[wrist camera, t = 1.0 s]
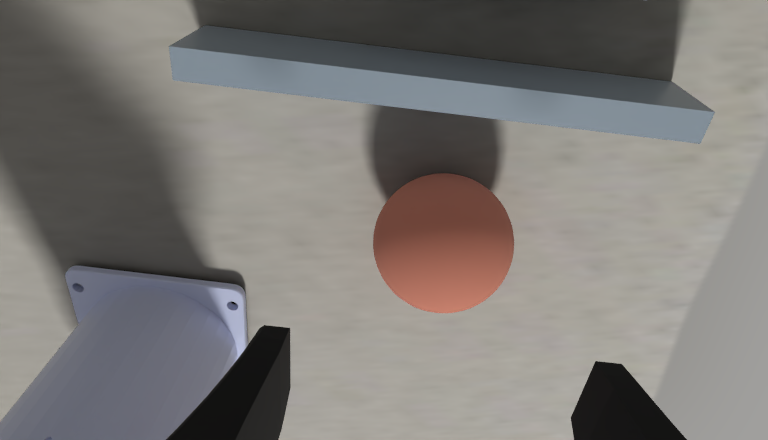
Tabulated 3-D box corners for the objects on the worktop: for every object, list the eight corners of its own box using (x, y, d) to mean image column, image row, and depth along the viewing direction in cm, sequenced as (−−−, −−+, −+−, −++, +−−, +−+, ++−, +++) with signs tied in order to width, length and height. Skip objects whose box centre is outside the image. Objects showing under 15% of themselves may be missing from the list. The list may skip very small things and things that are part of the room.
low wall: (661, 109, 18) (700, 143, 16) (207, 54, 18) (172, 80, 16) (672, 81, 18) (714, 111, 15) (205, 24, 18) (169, 46, 15)
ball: (488, 264, 22) (505, 351, 18) (372, 250, 22) (361, 334, 18) (516, 158, 19) (544, 230, 15) (385, 143, 19) (375, 210, 15)
